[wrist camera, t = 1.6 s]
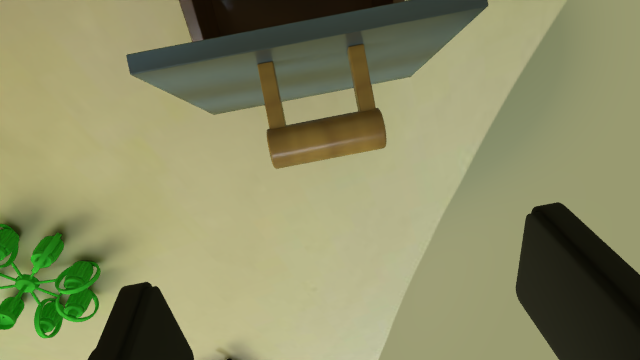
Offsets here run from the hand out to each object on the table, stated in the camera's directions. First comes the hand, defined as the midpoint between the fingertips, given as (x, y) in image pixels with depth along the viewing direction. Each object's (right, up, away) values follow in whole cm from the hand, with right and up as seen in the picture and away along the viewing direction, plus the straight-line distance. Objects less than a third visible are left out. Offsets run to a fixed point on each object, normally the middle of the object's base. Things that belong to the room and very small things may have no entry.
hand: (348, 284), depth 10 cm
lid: (-1, +9, +12) cm, 15 cm away
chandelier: (-32, -7, +34) cm, 47 cm away
